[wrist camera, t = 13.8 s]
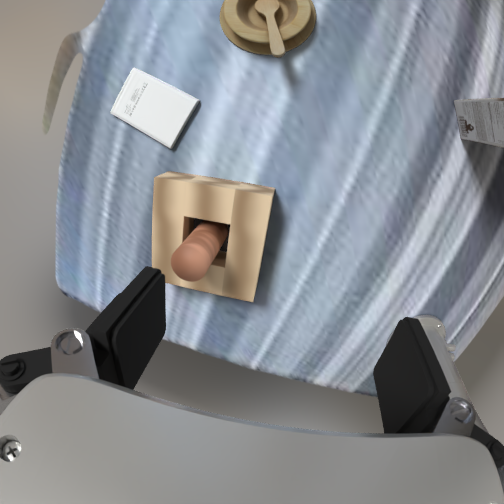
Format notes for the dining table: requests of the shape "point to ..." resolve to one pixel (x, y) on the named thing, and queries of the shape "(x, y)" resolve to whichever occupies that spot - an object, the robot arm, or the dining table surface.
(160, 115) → the external hard drive
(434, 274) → the dining table surface
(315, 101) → the dining table surface
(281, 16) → the tableware set
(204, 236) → the peg
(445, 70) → the dining table surface
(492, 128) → the coffee box
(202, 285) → the socket block
